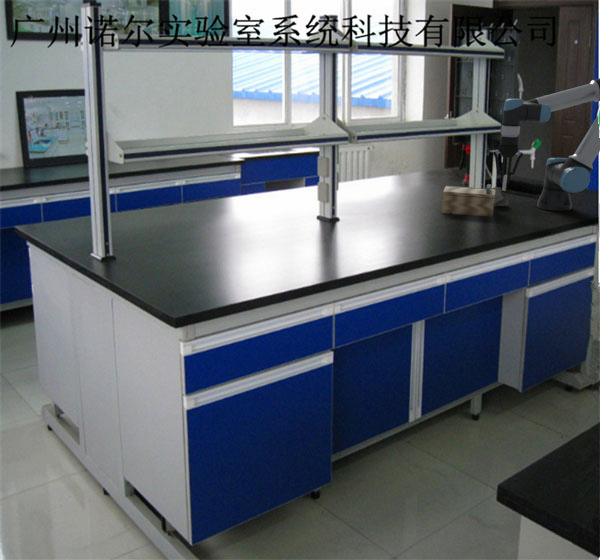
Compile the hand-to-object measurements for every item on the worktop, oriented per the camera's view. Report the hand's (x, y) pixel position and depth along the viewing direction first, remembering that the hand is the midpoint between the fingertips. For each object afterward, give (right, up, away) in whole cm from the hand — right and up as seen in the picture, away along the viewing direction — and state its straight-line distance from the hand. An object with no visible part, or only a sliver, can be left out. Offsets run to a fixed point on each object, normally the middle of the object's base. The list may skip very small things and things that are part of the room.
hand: (503, 190), depth 313 cm
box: (-14, -9, +7) cm, 18 cm away
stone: (+1, -5, +19) cm, 20 cm away
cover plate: (-14, -1, +4) cm, 15 cm away
